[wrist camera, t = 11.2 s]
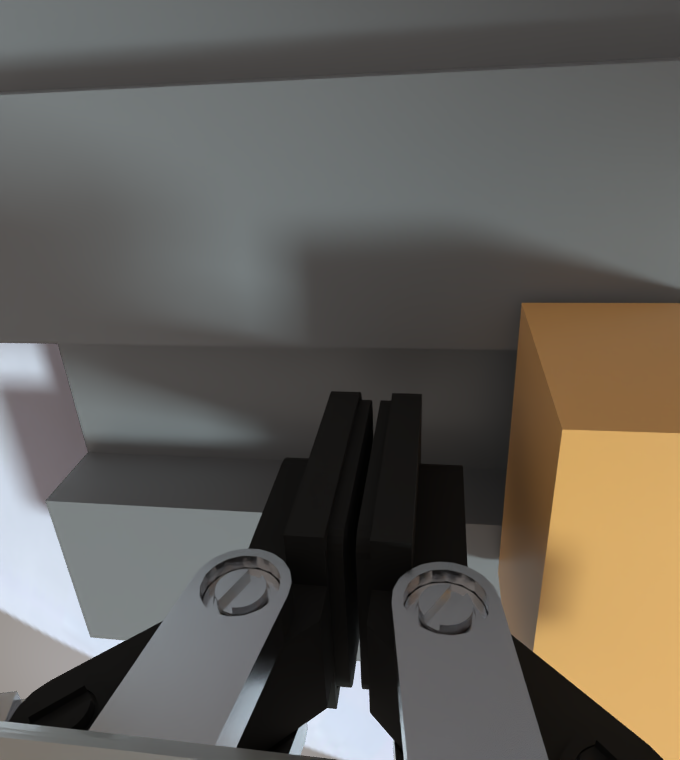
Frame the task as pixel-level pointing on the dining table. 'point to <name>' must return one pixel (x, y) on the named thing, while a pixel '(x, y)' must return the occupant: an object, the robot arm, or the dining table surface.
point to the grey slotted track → (310, 239)
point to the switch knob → (599, 506)
